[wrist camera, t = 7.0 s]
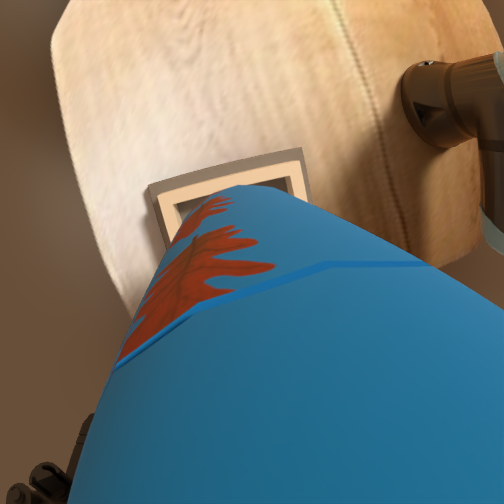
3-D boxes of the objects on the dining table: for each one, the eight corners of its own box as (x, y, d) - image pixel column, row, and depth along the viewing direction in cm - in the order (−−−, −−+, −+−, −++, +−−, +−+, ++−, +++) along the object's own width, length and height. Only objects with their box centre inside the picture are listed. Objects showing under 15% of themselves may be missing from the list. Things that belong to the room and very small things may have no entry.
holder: (298, 147, 36) (308, 146, 32) (322, 283, 43) (333, 295, 38) (150, 184, 35) (141, 187, 31) (192, 316, 42) (190, 333, 38)
